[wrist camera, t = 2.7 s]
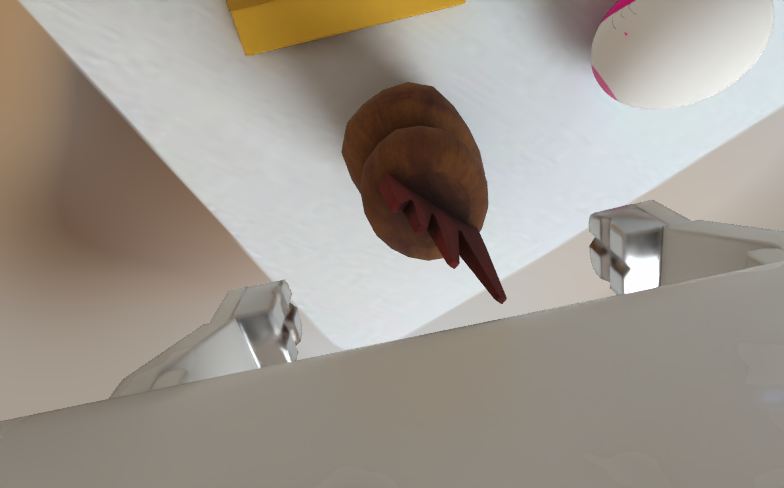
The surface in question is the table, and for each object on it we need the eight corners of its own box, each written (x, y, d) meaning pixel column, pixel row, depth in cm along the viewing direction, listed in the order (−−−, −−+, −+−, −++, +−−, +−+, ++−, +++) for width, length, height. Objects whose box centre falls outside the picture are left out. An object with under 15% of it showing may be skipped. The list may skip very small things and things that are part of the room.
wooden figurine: (480, 159, 25) (601, 303, 12) (397, 212, 27) (422, 396, 13) (418, 54, 23) (482, 83, 9) (330, 118, 24) (272, 225, 11)
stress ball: (671, -18, 25) (755, -135, 18) (731, 108, 23) (844, 31, 17) (541, 28, 25) (576, -70, 19) (592, 154, 24) (649, 96, 17)
